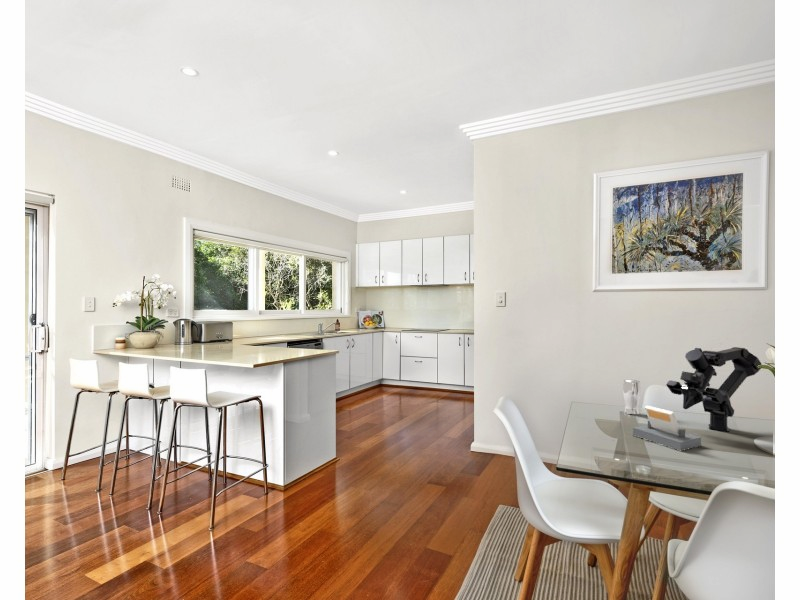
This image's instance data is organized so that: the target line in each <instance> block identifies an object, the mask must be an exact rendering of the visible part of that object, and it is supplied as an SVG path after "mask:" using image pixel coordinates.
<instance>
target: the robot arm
mask: <svg viewBox="0 0 800 600" xmlns="http://www.w3.org/2000/svg"><path fill="white" fill-rule="evenodd" d="M684 357H685V359H686V360H687V362H688V363H689V365H690V366H691V367H692V369H694V372H690V371H681V375H680V378H679V379H680V380H682V381H683V382H684V384H681V382H679V381H676V380H668V381H667V382H666V384H665V386H666V387H667V388H668V390H669V391H670V392H671V393H672V394H673V395H678V396H680V395H683V401H682V403H683V404H682V408H683V409H684V410H688V409H690V408H692V407H693V406H695V405H697V404H700V403H701V402H702V406H703V409H704V410H703V412H705V413H709V423H708V429H709V430H712V431H713V430H715V431H722V432H730V429H729V426H728V417H734V415H735V409H734V408H733V407H732V404H731V397H732V396H733V395H734V393H735V392H737V390H738V388H740V386H742V384H743V382H745V380H746V379H747V378H748V377H752V376H754V375H756V374H757V373H758V372H760V371H761V369H762V367H761V368H758V367H757V366H758V365H763V364H762V362H761V360H760V359H759V358H758V357H757V356H756V355H754V354H753V353H751V352H750V351H749V350H748V349H746V348H744V347H735V346H734V347H731V348H728V349H722V350H716V351H715V350H714V351H713V350H702V348H701V347H700V348H699V347H695V348H694V349H692V350H689V351H687V352H686V353H685V356H684ZM728 361H729V362H730V361H731V363H732V364H733V368H734V370H733V371H731V373H730V374H729V376H727V378H726V379H725V380H724V381H723V383H721V385H720V386H719V387H718V388H716V387H715V388H713V387H710V386H711V384H710V382H711V380H712V377H713V376H714V377H717V375H718V374H717V372H716V368H714V367H719V368H720V367H722V366H724V365H726V362H728Z"/></svg>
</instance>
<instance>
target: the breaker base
mask: <svg viewBox="0 0 800 600" xmlns="http://www.w3.org/2000/svg"><path fill="white" fill-rule="evenodd" d="M633 435H636V436H639V437H642V438H645V439H648V440H651V441H654V442H657V443H660V444H663V445H666V446H669V447H672V448H675V449H678V450H684V449H688V448H692V449H694V448H693V447H695V448H698V446H699V447H701V446H702V437H701V436H697V435H695V434H691V433H687V432H686V429H685V428H679V434H678V435H677V434H674V433H670V432H667V431H663V430H660V429H657V428H653V427H651V424H650V421H649V420H647V424H645V425H640V426H639V425H638V426H634V427H632V436H633ZM672 448H671V449H672ZM675 449H674V450H675ZM678 450H677V451H678ZM688 450H689V449H688ZM684 451H685V450H684Z"/></svg>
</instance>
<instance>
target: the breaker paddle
mask: <svg viewBox="0 0 800 600" xmlns="http://www.w3.org/2000/svg"><path fill="white" fill-rule="evenodd" d="M644 410H645V413H646V415H647V419H648V421H650V424H651V427H653V428H657V429H660V430H663V431H667V432H670V433H674V434H677V435H678V434H679V429H680V427H679V424H678V421H677V418H676V415H675V413H674V411H672V410H668V409H663V408H659V407H655V406H651V405H645V407H644Z"/></svg>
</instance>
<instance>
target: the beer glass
mask: <svg viewBox="0 0 800 600" xmlns="http://www.w3.org/2000/svg"><path fill="white" fill-rule="evenodd" d="M622 384H623V385H622V391H623V392H622V393H623V394H622V395H623V399H624V400H623V401H624V410H623V413H624V412H627V413H634V414H638V413H639V414H640V411H639V401H640V397H641V382H640V381H639V380H636V379H623V383H622Z"/></svg>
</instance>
